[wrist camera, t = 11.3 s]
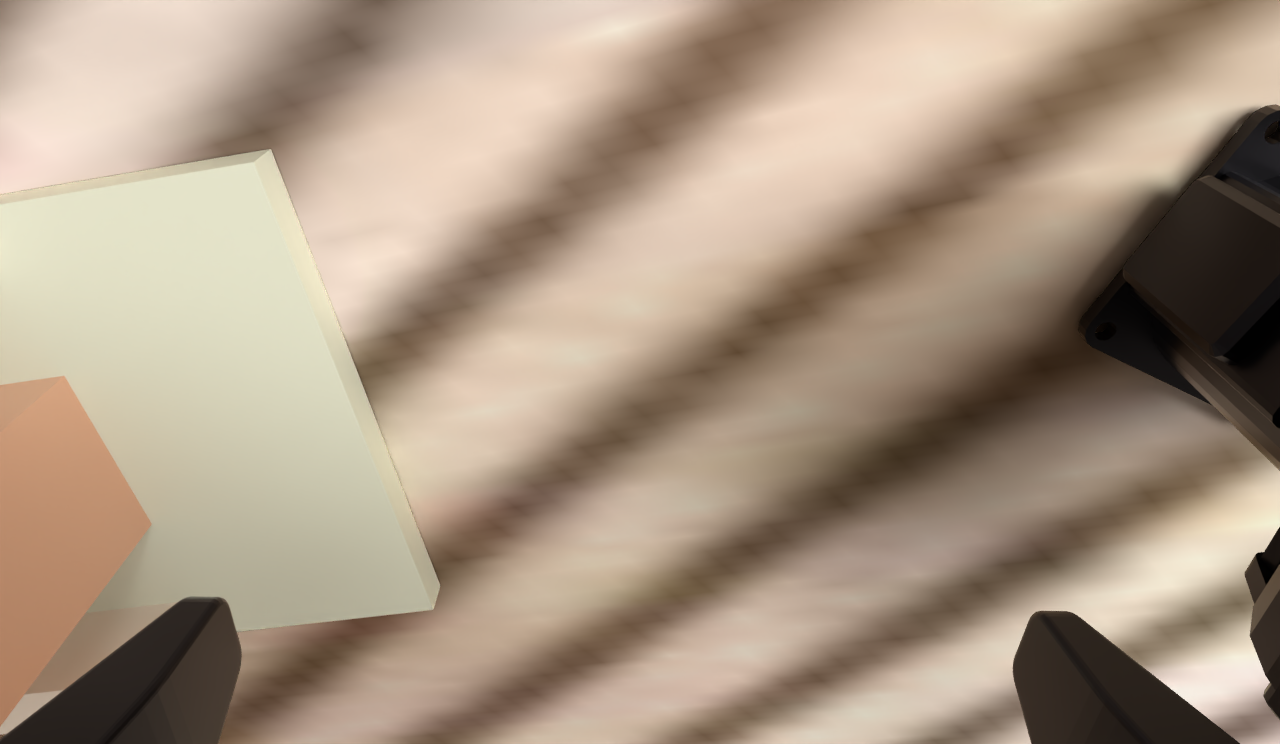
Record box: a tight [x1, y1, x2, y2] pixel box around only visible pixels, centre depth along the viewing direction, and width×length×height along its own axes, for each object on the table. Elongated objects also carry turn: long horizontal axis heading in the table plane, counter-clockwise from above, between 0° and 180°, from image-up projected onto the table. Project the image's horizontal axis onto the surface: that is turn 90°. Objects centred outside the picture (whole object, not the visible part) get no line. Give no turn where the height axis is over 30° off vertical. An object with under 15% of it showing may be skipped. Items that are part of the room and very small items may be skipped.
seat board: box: [0, 149, 440, 735], centre depth 23 cm, size 16×14×4 cm
